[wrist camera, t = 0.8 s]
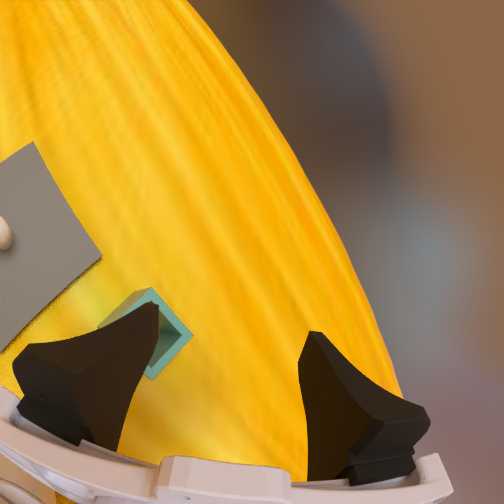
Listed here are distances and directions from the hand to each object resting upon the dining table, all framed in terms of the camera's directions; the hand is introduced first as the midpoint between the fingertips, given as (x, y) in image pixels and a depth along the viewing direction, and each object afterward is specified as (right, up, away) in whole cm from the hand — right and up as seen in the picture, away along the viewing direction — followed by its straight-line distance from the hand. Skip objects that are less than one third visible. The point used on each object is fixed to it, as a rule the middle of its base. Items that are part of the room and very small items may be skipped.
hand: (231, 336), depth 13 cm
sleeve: (-10, -3, +11) cm, 15 cm away
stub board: (-21, +5, +4) cm, 22 cm away
